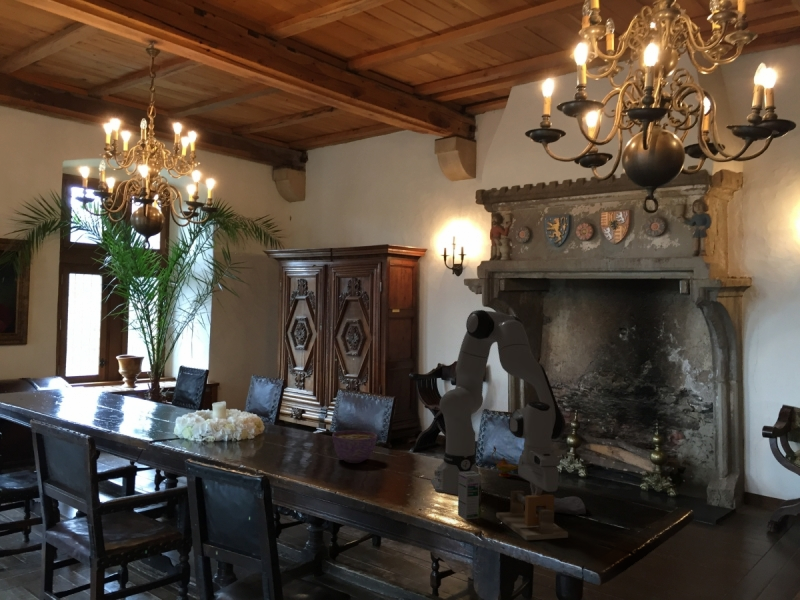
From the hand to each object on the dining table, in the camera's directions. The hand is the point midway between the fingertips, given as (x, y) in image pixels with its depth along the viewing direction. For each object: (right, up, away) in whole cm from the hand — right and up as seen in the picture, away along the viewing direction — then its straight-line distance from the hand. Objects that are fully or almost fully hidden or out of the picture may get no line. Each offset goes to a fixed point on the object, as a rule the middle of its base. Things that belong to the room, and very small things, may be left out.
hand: (536, 497), depth 208 cm
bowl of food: (-63, -9, +83) cm, 105 cm away
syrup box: (-20, -10, +11) cm, 25 cm away
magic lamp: (+2, -11, +65) cm, 66 cm away
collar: (0, -8, -2) cm, 8 cm away
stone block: (+15, -11, +21) cm, 28 cm away
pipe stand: (-1, -10, +3) cm, 11 cm away
